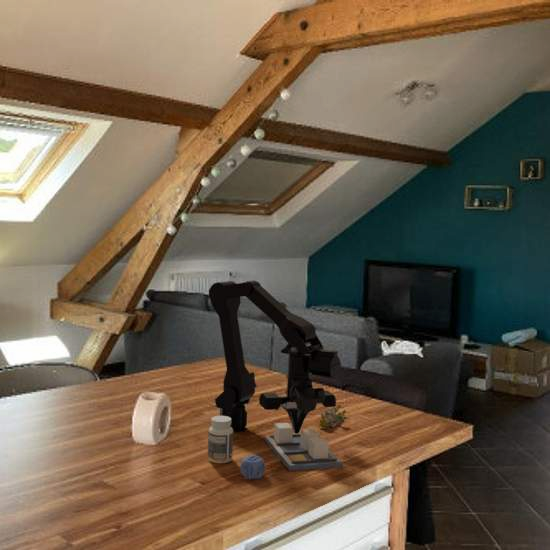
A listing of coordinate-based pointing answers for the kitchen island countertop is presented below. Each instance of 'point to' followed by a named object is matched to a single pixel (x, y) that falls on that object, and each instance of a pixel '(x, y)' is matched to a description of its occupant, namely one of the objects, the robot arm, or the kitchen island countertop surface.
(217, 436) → the pill bottle
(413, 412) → the kitchen island countertop surface
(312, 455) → the white cube
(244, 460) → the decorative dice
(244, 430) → the robot arm
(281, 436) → the white cube
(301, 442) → the white cube
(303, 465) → the dip bank
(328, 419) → the toy
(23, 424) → the kitchen island countertop surface
